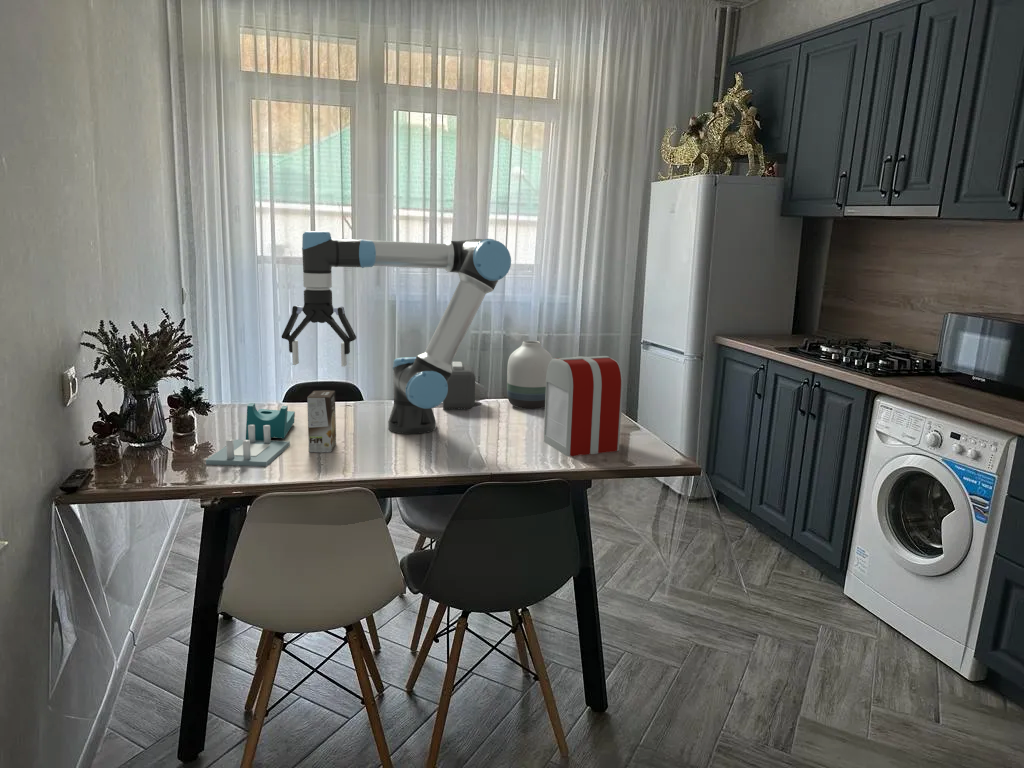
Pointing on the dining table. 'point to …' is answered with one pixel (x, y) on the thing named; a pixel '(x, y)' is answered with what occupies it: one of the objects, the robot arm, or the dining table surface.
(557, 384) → the red white rounded block
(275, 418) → the teal cradle block
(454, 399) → the alarm clock
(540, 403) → the vase
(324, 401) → the coffee box
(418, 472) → the dining table surface
